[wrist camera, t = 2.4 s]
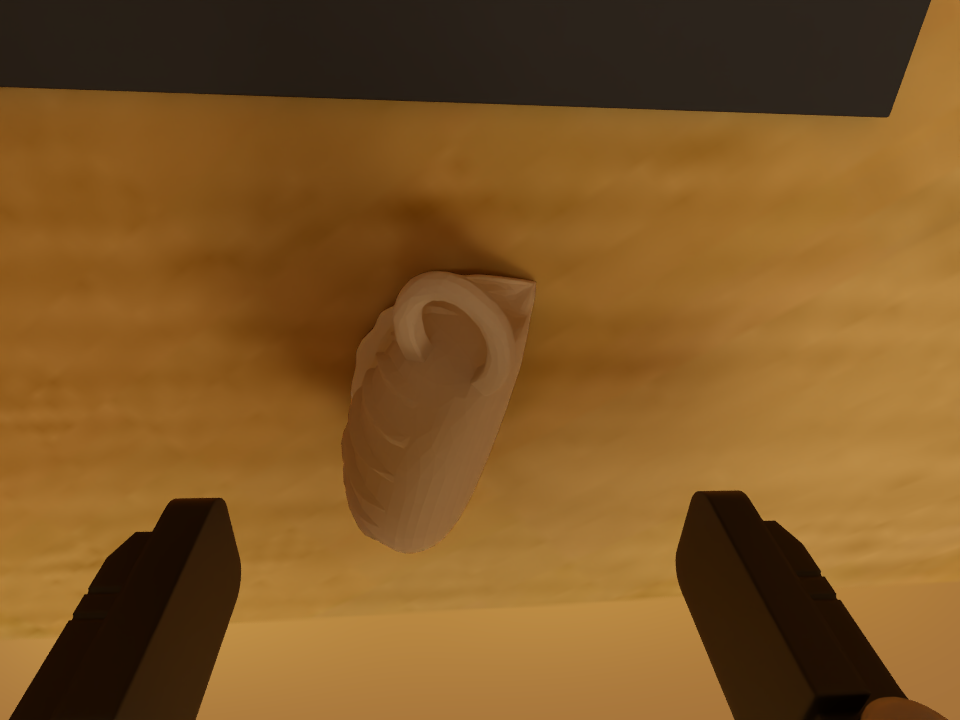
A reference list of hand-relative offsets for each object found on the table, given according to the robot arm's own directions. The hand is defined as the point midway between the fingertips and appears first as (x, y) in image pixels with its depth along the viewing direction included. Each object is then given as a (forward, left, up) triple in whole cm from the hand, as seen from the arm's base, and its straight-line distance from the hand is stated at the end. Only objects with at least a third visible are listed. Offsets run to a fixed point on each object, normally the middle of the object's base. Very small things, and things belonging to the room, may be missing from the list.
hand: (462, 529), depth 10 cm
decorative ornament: (0, 0, -7) cm, 7 cm away
